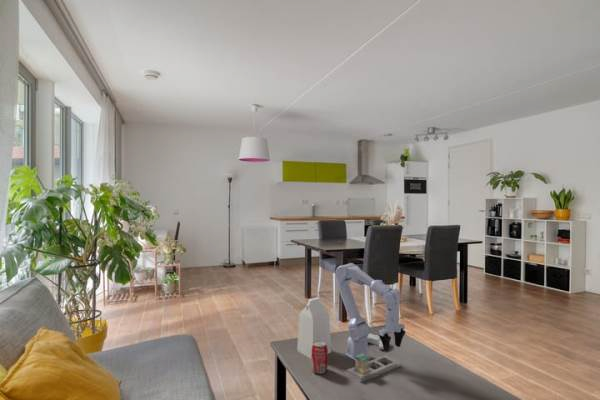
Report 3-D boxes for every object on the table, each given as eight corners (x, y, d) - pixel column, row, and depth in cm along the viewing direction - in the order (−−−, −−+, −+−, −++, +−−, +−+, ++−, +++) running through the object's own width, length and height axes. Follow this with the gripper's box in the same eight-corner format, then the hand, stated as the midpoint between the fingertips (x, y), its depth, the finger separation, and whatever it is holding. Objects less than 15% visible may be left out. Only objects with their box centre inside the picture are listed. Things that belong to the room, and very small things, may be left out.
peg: (354, 374, 146) (355, 356, 146) (362, 371, 148) (362, 353, 148) (362, 378, 142) (362, 360, 142) (369, 375, 145) (369, 357, 145)
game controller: (356, 339, 175) (365, 328, 183) (357, 346, 176) (365, 336, 184) (383, 346, 167) (391, 335, 174) (384, 354, 167) (391, 343, 175)
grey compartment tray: (347, 374, 146) (347, 369, 146) (385, 359, 159) (385, 355, 159) (360, 382, 139) (360, 377, 139) (399, 366, 153) (399, 361, 153)
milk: (312, 359, 159) (312, 304, 158) (297, 350, 168) (297, 298, 167) (331, 352, 166) (331, 299, 166) (315, 344, 175) (315, 294, 175)
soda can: (318, 365, 154) (319, 338, 154) (330, 370, 149) (331, 343, 149) (308, 370, 149) (308, 343, 149) (320, 376, 144) (320, 348, 144)
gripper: (388, 323, 142) (387, 356, 142) (410, 316, 151) (410, 347, 151) (375, 318, 148) (375, 349, 148) (397, 312, 156) (397, 341, 157)
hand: (392, 348), depth 150 cm, fingers open, 7 cm apart
